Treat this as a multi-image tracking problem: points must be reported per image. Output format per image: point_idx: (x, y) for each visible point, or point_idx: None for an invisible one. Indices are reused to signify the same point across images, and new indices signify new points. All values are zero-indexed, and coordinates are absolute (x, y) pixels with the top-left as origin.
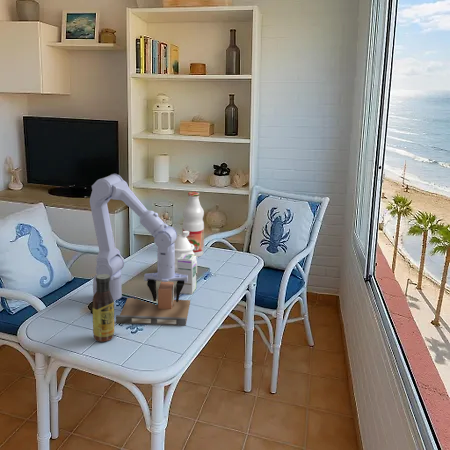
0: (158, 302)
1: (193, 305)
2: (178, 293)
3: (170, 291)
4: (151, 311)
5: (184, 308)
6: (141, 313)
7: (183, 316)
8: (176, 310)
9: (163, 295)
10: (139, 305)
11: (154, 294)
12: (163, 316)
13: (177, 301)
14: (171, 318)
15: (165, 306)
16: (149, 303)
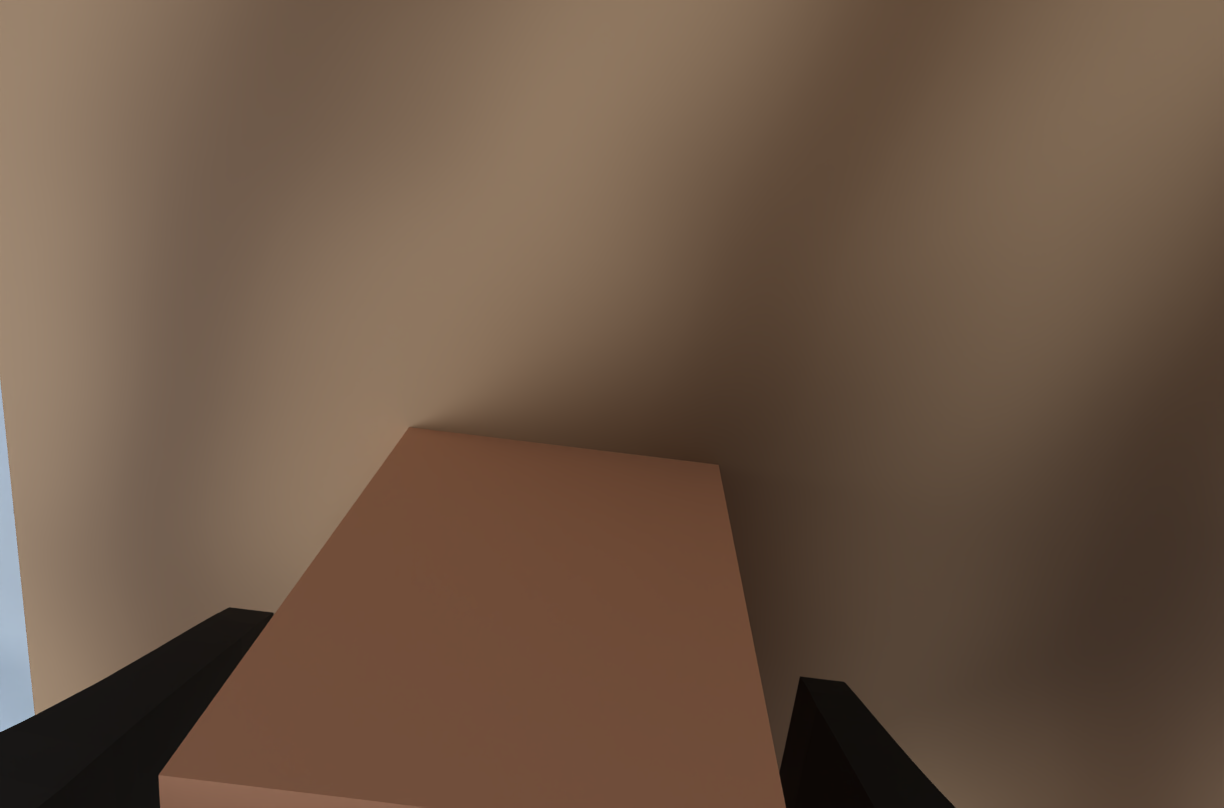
0: (729, 536)
1: (13, 663)
2: (37, 738)
3: (243, 731)
4: (891, 324)
5: (110, 442)
6: (1153, 231)
7: (64, 9)
8: (284, 351)
9: (569, 645)
10: (1150, 629)
11: (874, 794)
12: (588, 33)
13: (229, 610)
14: None
15: (544, 467)
16: (914, 705)
